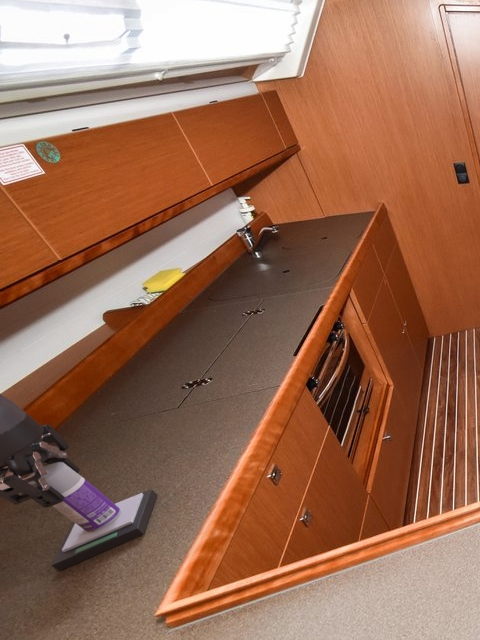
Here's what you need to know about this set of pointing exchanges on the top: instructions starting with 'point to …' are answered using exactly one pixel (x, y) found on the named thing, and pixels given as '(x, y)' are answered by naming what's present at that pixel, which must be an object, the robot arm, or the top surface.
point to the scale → (106, 531)
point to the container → (80, 498)
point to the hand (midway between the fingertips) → (63, 488)
